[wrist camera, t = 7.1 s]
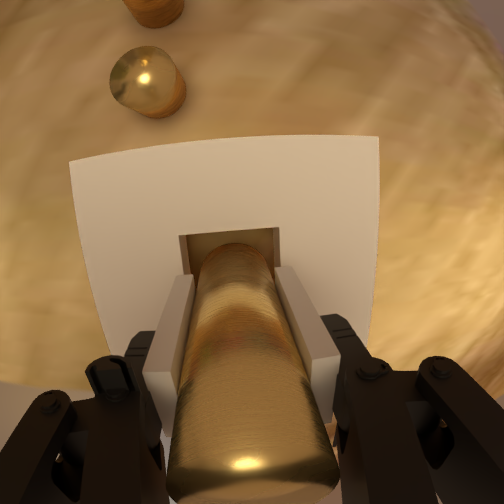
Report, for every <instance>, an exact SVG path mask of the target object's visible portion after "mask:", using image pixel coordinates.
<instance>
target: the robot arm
mask: <svg viewBox="0 0 504 504" xmlns="http://www.w3.org/2000/svg"><path fill="white" fill-rule="evenodd" d="M275 288H276V290H277V293H278V296H279V299H280V301H281V304H282V307H283V310H284V313H285V315H286V318H287V321H288V324H289V327H290V329H291V332H292V335H293V338H294V341H295V343H296V346H297V349H298V352H299V355H300V357H301V360H302V363H303V366H304V369H305V371H306V374H307V377H308V380H309V383H310V386H311V388H312V391H313V394H314V397H315V400H316V403H317V406H318V408H319V411H320V414H321V417H322V420H323V423H324V424H326V423H331V421H332V415H333V412H334V415H335V417H336V420H337V426H336V431H335V436H334V441H333V447H336V445H337V450H338V460H339V469H340V480H341V491H342V502H343V504H439V503H438V500H437V496H436V493H437V495H438V496H439V498H440V500H441V501H442V503H443V504H504V409H502V407H501V406H500V405H499V404H498V403H497V402H496V401H495V400H494V399H493V398H492V397H491V396H490V395H489V394H488V393H487V392H486V391H485V390H484V389H483V388H482V387H481V386H480V385H479V384H478V383H477V382H476V381H475V380H474V379H473V378H472V377H471V376H470V375H469V374H468V373H467V372H466V371H465V370H463V369H462V368H461V367H460V366H459V365H458V364H457V363H456V362H454V361H453V360H452V359H449V358H446V357H443V356H433V357H428V358H426V359H425V360H423V361H422V362H421V364H420V366H419V369H418V371H394V370H392V368H391V367H390V365H389V364H388V363H386V362H385V361H383V360H382V359H378V358H375V357H372V356H371V355H370V353H369V352H368V350H367V349H366V347H365V346H364V344H363V343H362V341H361V340H360V338H359V337H358V336H357V334H356V332H355V331H354V329H352V326H351V325H350V324H349V322H348V321H347V319H345V318H343V317H342V316H340V315H339V314H337V313H336V314H329V315H321V316H319V314H318V312H317V310H316V309H315V307H314V305H313V303H312V301H311V300H310V298H309V296H308V294H307V292H306V291H305V289H304V287H303V285H302V284H301V282H300V280H299V278H298V276H297V275H296V273H295V271H294V269H293V268H292V266H286V267H275ZM195 296H196V290H195V283H194V276H193V274H191V275H178V276H176V278H175V280H174V283H173V286H172V288H171V291H170V293H169V296H168V299H167V302H166V304H165V307H164V310H163V312H162V315H161V318H160V321H159V323H158V326H157V329H156V331H140V332H138V333H137V334H136V335H135V336H134V337H133V338H132V339H131V341H130V343H129V345H128V347H127V348H128V349H127V350H126V352H125V354H124V357H123V356H120V355H109V356H104V357H101V358H99V359H97V360H95V361H93V362H92V363H91V364H90V365H88V367H87V369H86V370H85V373H86V376H87V378H88V380H89V382H90V385H91V387H92V389H93V391H94V393H95V397H94V398H90V399H86V400H80V401H73V402H72V401H71V399H70V397H69V396H68V395H67V394H66V393H65V392H63V391H60V390H50V391H47V392H44V393H42V394H41V395H39V396H38V397H37V398H36V399H35V400H34V401H33V403H32V404H31V405H30V407H29V408H28V410H27V411H26V413H25V414H24V416H23V417H22V419H21V420H20V422H19V423H18V425H17V427H16V428H15V430H14V431H13V433H12V434H11V436H10V437H9V439H8V441H7V442H6V444H5V446H4V447H3V449H2V450H1V452H0V504H170V502H169V495H168V493H167V491H166V468H165V457H164V448H163V445H162V442H161V440H160V433H161V429H162V428H163V431H164V433H165V436H166V437H172V431H173V424H174V417H175V410H176V404H177V397H178V391H179V385H180V378H181V372H182V366H183V361H184V355H185V349H186V344H187V338H188V332H189V327H190V322H191V316H192V311H193V306H194V301H195ZM442 420H443V421H444V422H445V423H446V424H445V423H444V422H443V421H442ZM58 454H60V455H59V457H58V459H57V460H56V458H57V456H58Z"/></svg>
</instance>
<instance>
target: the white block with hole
mask: <svg viewBox="0 0 504 504" xmlns="http://www.w3.org/2000/svg"><path fill="white" fill-rule="evenodd" d="M69 166H70V176H71V184H72V192H73V200H74V206H75V213H76V219H77V225H78V231H79V236H80V241H81V246H82V251H83V256H84V261H85V265H86V269H87V274H88V278H89V282H90V286H91V290H92V294H93V297H94V301H95V305H96V308H97V312H98V315H99V319H100V322H101V325H102V329H103V332H104V335H105V338H106V341H107V344H108V347H109V350H110V353H111V355H120V356H123V357H124V354H125V352H126V350H127V349H128V348H127V347H128V345H129V343H130V341H131V339H132V338H133V337H134V336H135V335H136V334H137V333H138V332H140V331H156V329H157V326H158V323H159V321H160V318H161V315H162V312H163V310H164V307H165V304H166V302H167V299H168V296H169V293H170V291H171V288H172V286H173V283H174V280H175V278H176V276H178V275H191V272H190V265H189V257H188V250H187V242H186V235H188V234H199V233H211V232H222V231H234V230H247V229H259V228H272V227H273V245H274V270H275V267H286V266H292V268H293V269H294V271H295V273H296V275H297V276H298V278H299V280H300V282H301V284H302V285H303V287H304V289H305V291H306V292H307V294H308V296H309V298H310V300H311V301H312V303H313V305H314V307H315V309H316V310H317V312H318V314H319V316H321V315H329V314H336V313H337V314H339V315H340V316H342V317H343V318H345V319H347V321H348V322H349V324H350V325H351V326H352V329H354V331H355V332H356V334H357V336H358V337H359V338H360V340H361V341H362V343H363V344H364V346H365V347H366V348H367V341H368V334H369V327H370V320H371V312H372V304H373V295H374V285H375V274H376V262H377V247H378V228H379V189H380V175H379V137H375V136H353V135H275V136H253V137H236V138H223V139H211V140H200V141H191V142H182V143H174V144H166V145H158V146H151V147H144V148H138V149H132V150H126V151H120V152H114V153H109V154H103V155H98V156H93V157H88V158H83V159H79V160H74V161H70V162H69Z"/></svg>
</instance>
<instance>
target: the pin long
mask: <svg viewBox="0 0 504 504" xmlns="http://www.w3.org/2000/svg"><path fill="white" fill-rule="evenodd" d="M339 480H340V469H339V466H338V463H337V460H336V457H335V454H334V452H333V449H332V446H331V443H330V440H329V437H328V434H327V431H326V428H325V426H324V423H323V420H322V417H321V414H320V411H319V408H318V406H317V403H316V400H315V397H314V394H313V391H312V388H311V386H310V383H309V380H308V377H307V374H306V371H305V369H304V366H303V363H302V360H301V357H300V355H299V352H298V349H297V346H296V343H295V341H294V338H293V335H292V332H291V329H290V327H289V324H288V321H287V318H286V315H285V313H284V310H283V307H282V304H281V301H280V299H279V296H278V293H277V290H276V288H275V285H274V282H273V279H272V277H271V274H270V271H269V268H268V266H267V263H266V261H265V259H264V258H263V256H262V255H261V254H260V253H259V252H258V251H257V250H255V249H254V248H252V247H250V246H248V245H245V244H240V243H230V244H225V245H222V246H220V247H218V248H216V249H214V250H213V251H212V252H210V253H209V255H208V256H207V257H206V258H205V260H204V262H203V264H202V267H201V271H200V276H199V281H198V286H197V291H196V296H195V301H194V306H193V311H192V316H191V322H190V327H189V332H188V338H187V344H186V349H185V355H184V361H183V366H182V372H181V378H180V385H179V391H178V397H177V404H176V410H175V417H174V424H173V431H172V438H171V445H170V453H169V460H168V468H167V476H166V491H167V493H168V495H169V496H170V497H171V498H172V499H173V500H174V501H175V502H176V503H177V504H315V503H317V502H319V501H320V500H322V499H323V498H325V497H326V496H327V495H328V494H329V493H331V492H332V490H333V489H334V488H335V487H336V485H337V484H338V482H339Z"/></svg>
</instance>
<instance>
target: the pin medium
mask: <svg viewBox="0 0 504 504" xmlns="http://www.w3.org/2000/svg"><path fill="white" fill-rule="evenodd" d="M122 1H123V2H124V3H125V5H126V6H127V7H128V9H129V10H130V12H131V13H132V14H133V16H134V17H135V19H136V20H137V21H138V23H139V24H141V25H142V26H144V27H147V28H161V27H164V26H167V25H169V24H171V23H172V22H174V21H175V20H176V19H177V18H178V17H179V16H180V15H181V13H182V11H183V8H184V1H183V0H122Z"/></svg>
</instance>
